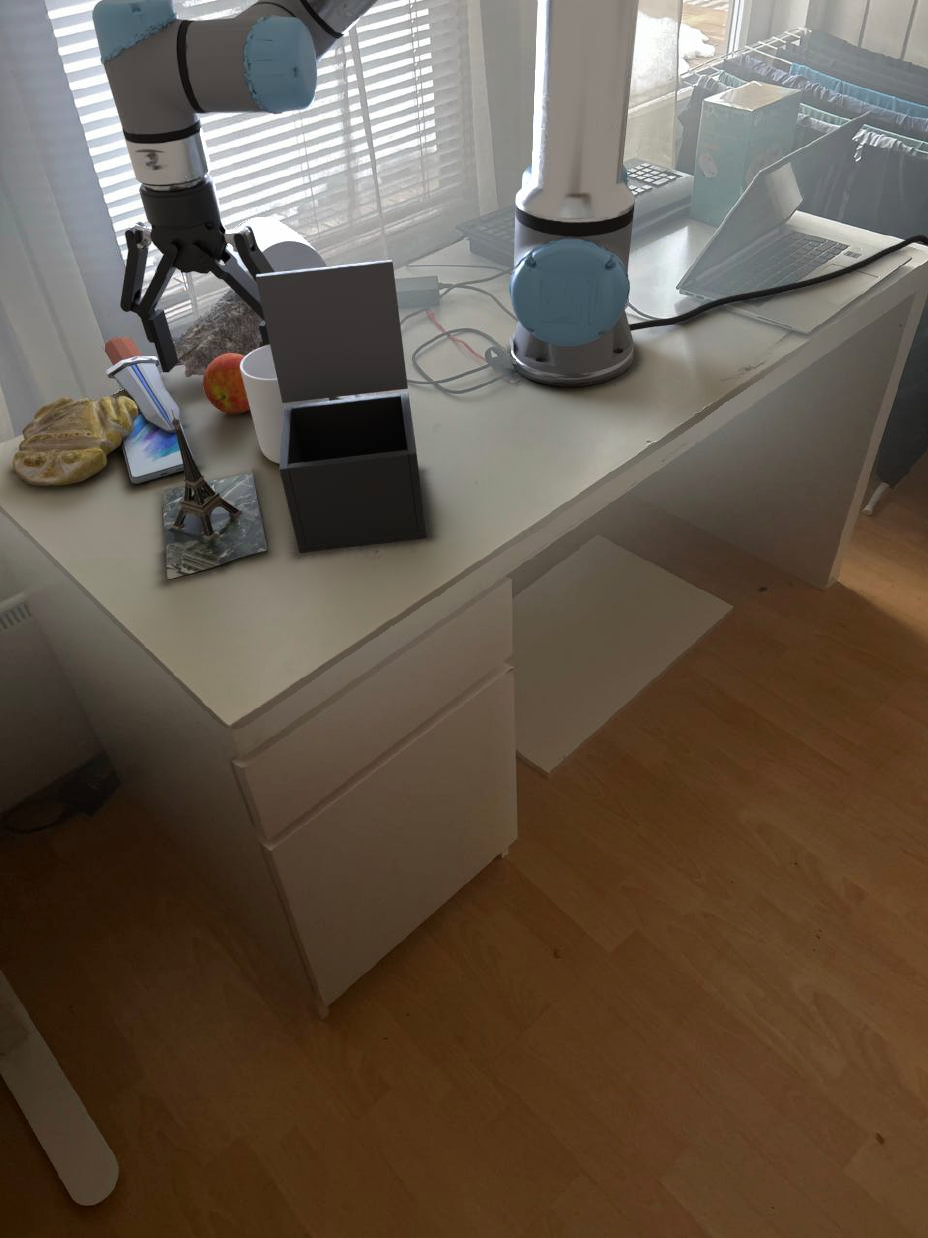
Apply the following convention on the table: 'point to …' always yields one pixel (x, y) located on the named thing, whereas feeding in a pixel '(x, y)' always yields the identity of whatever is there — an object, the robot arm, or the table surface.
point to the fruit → (226, 384)
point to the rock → (219, 334)
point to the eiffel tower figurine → (209, 518)
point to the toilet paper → (281, 246)
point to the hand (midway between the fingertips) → (223, 370)
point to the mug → (266, 400)
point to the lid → (334, 330)
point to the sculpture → (72, 439)
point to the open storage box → (351, 472)
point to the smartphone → (151, 451)
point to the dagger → (141, 382)
